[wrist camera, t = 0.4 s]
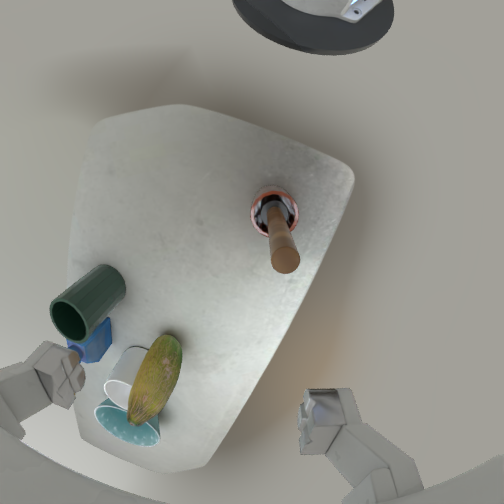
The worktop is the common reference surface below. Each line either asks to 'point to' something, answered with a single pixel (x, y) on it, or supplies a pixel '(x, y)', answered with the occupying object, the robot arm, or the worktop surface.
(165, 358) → the vegetable
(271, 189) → the holder
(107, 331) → the perfume bottle
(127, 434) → the bowl
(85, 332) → the cup
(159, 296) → the worktop surface
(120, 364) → the mug
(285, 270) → the wooden dowel rod
